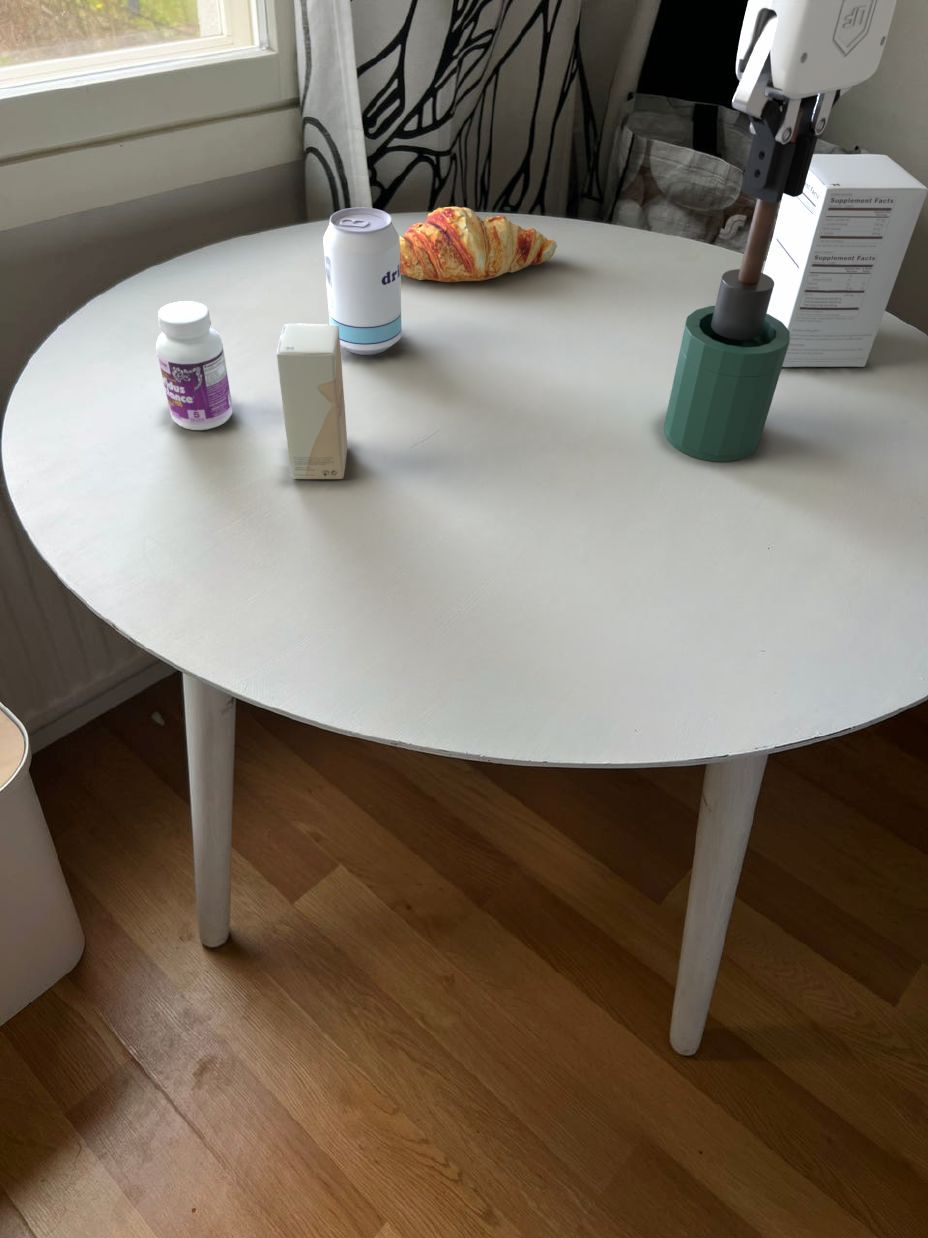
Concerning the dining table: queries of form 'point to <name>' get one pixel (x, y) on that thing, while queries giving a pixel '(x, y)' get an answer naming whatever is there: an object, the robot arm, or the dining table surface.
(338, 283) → the beverage can
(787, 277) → the supplement box
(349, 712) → the dining table surface
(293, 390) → the box
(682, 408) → the jar
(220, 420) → the pill bottle
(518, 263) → the croissant
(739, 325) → the dowel with disc base
